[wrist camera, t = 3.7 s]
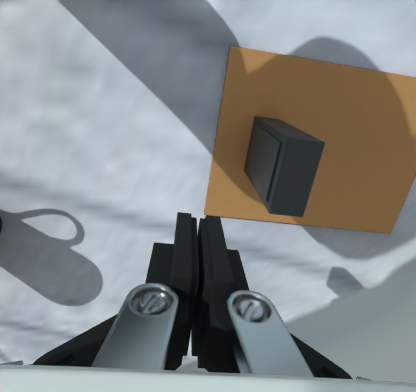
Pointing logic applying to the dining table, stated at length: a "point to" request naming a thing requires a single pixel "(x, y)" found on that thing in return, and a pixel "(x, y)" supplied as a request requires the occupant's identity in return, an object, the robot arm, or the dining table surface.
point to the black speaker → (282, 165)
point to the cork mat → (323, 130)
